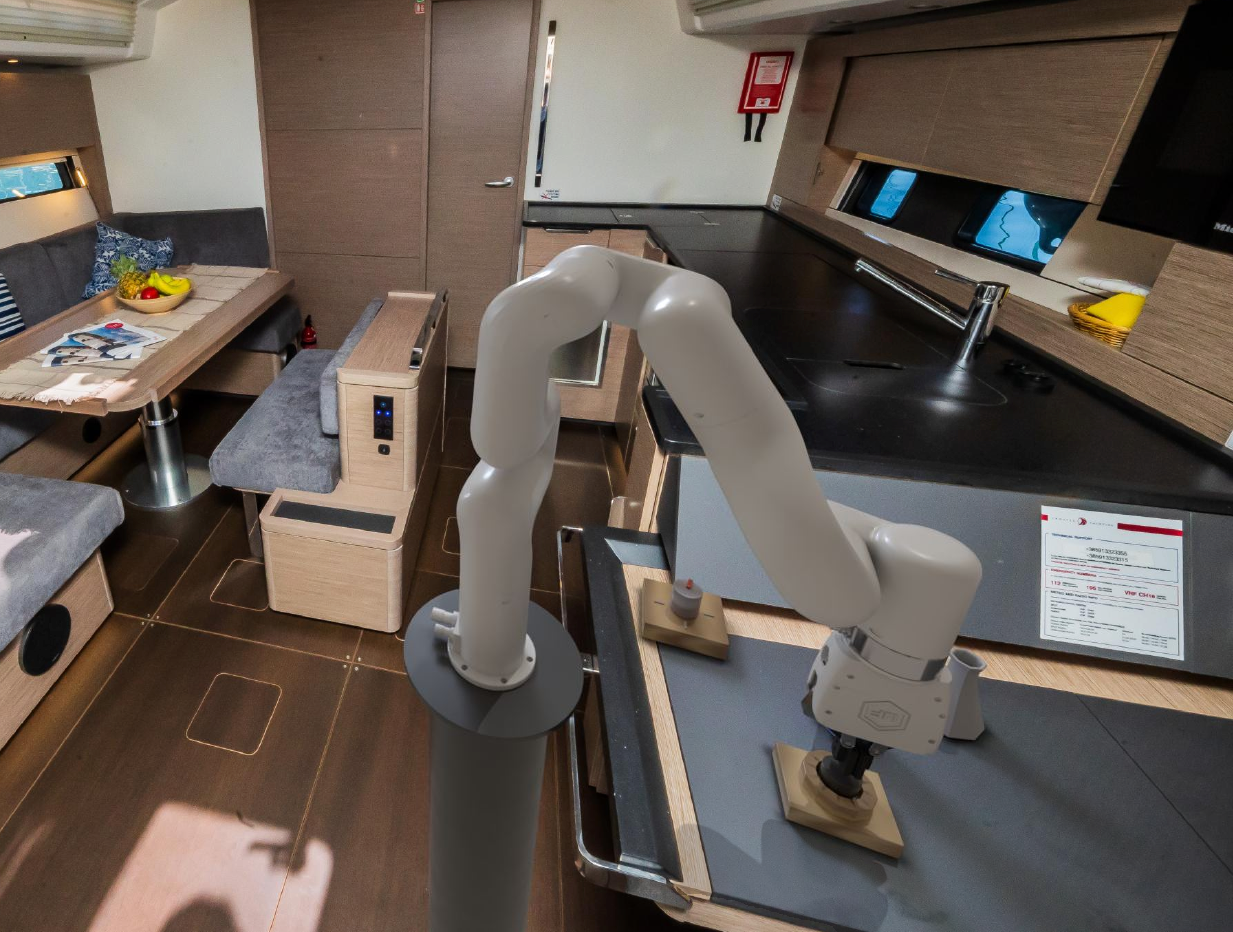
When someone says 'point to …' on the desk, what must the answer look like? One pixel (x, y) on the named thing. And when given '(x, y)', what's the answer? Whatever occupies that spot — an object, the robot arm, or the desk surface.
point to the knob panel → (684, 621)
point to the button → (838, 779)
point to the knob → (686, 598)
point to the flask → (964, 695)
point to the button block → (835, 802)
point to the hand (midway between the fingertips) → (847, 765)
